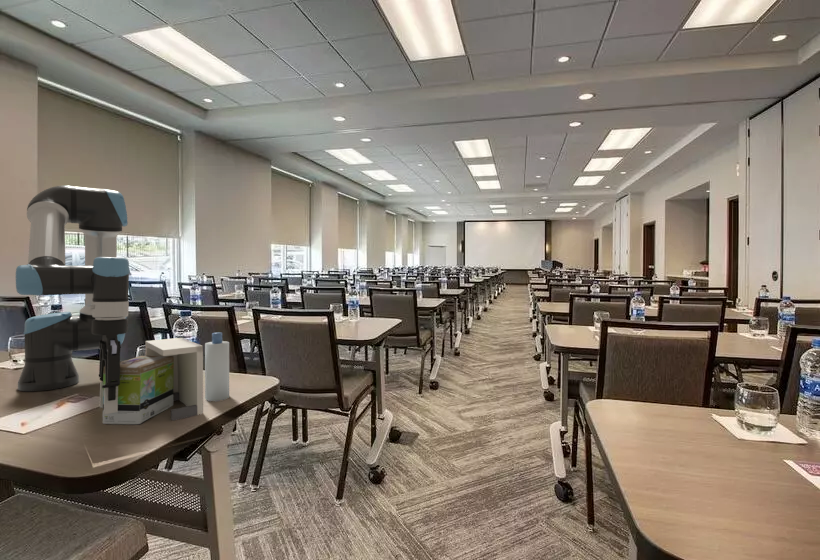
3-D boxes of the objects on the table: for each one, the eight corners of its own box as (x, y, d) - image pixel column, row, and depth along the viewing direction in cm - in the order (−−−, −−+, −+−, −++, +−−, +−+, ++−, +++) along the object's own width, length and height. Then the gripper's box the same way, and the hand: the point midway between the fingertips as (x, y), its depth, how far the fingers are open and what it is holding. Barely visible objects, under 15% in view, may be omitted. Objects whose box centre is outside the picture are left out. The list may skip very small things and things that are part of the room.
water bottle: (202, 399, 128) (201, 332, 128) (224, 394, 133) (224, 330, 133) (209, 404, 124) (209, 335, 123) (232, 399, 128) (232, 333, 128)
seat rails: (154, 404, 123) (154, 395, 123) (177, 400, 127) (177, 391, 127) (172, 420, 110) (172, 410, 110) (197, 415, 114) (197, 405, 114)
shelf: (146, 405, 122) (145, 341, 122) (182, 398, 129) (181, 337, 129) (163, 422, 109) (163, 350, 108) (203, 413, 115) (202, 345, 115)
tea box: (141, 425, 107) (140, 366, 106) (101, 425, 107) (100, 366, 106) (175, 406, 122) (174, 354, 121) (140, 405, 122) (139, 354, 122)
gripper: (86, 316, 112) (85, 403, 112) (97, 322, 98) (95, 422, 98) (121, 314, 117) (119, 398, 117) (135, 320, 103) (133, 415, 103)
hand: (108, 409), depth 108 cm, fingers closed on tea box, 6 cm apart
